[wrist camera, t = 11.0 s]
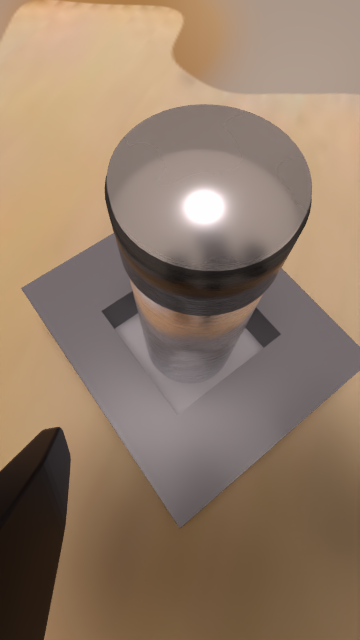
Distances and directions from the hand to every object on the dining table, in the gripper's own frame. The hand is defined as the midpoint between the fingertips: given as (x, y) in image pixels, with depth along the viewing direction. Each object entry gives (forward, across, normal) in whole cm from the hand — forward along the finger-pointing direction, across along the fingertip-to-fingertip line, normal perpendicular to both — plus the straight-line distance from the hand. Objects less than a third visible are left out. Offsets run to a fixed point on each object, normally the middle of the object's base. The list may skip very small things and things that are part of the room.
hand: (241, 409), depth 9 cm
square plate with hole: (+12, 0, +4) cm, 13 cm away
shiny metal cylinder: (+11, 0, +4) cm, 12 cm away
